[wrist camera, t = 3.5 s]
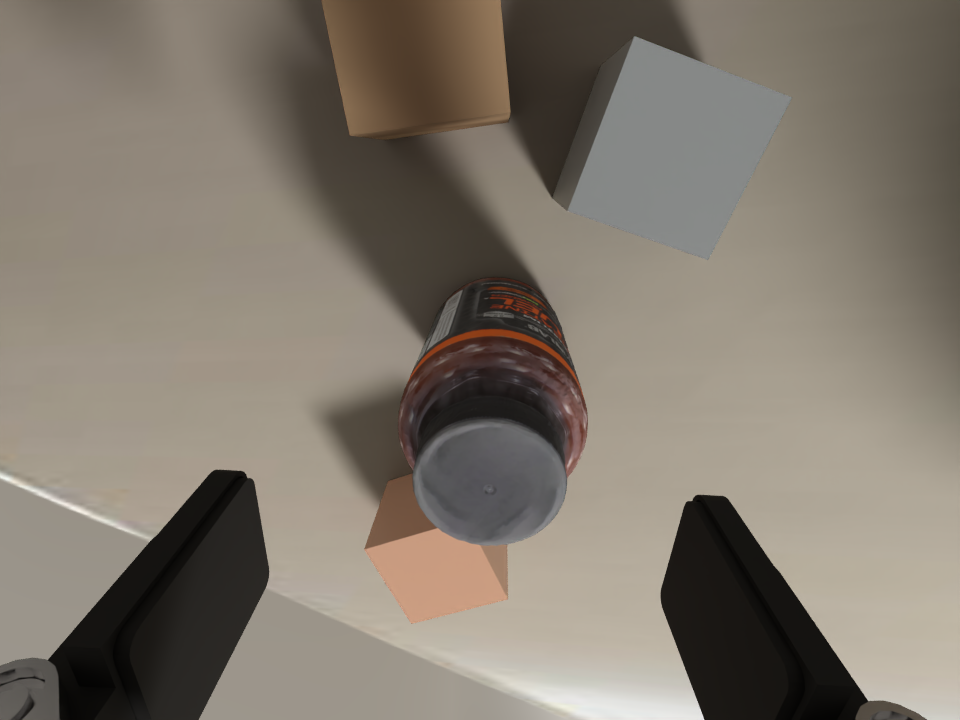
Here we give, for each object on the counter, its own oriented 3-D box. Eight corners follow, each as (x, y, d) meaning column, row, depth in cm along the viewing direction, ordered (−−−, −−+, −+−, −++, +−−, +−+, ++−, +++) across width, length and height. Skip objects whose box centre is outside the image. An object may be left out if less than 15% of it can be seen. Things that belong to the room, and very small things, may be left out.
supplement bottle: (584, 307, 22) (660, 447, 11) (523, 410, 24) (540, 606, 14) (464, 249, 21) (429, 343, 11) (413, 361, 23) (342, 530, 13)
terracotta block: (473, 453, 25) (466, 519, 21) (506, 523, 27) (507, 599, 22) (388, 480, 26) (364, 549, 22) (426, 546, 28) (411, 623, 23)
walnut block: (493, -33, 17) (491, -102, 13) (508, 122, 19) (510, 112, 14) (357, -10, 18) (307, -68, 13) (385, 139, 19) (349, 135, 15)
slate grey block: (720, 111, 19) (792, 97, 14) (661, 236, 21) (708, 259, 16) (600, 65, 18) (634, 35, 14) (551, 197, 20) (567, 210, 16)
